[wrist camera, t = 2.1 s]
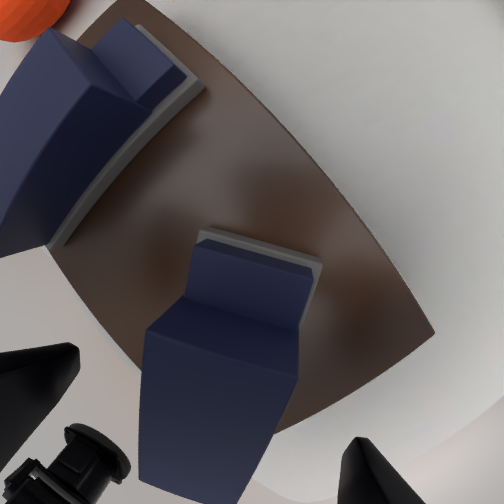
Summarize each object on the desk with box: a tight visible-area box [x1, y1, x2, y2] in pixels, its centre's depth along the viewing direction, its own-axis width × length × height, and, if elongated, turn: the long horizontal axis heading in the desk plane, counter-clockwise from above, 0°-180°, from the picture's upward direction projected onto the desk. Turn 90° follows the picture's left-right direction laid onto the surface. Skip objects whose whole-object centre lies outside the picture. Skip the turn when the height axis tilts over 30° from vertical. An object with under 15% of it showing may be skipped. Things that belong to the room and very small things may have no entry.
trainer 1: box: [0, 17, 205, 258], centre depth 8 cm, size 9×4×4 cm, turn 131°
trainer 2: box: [138, 227, 323, 504], centre depth 9 cm, size 9×4×4 cm, turn 166°
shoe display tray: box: [45, 0, 435, 434], centre depth 12 cm, size 20×11×4 cm, turn 41°
